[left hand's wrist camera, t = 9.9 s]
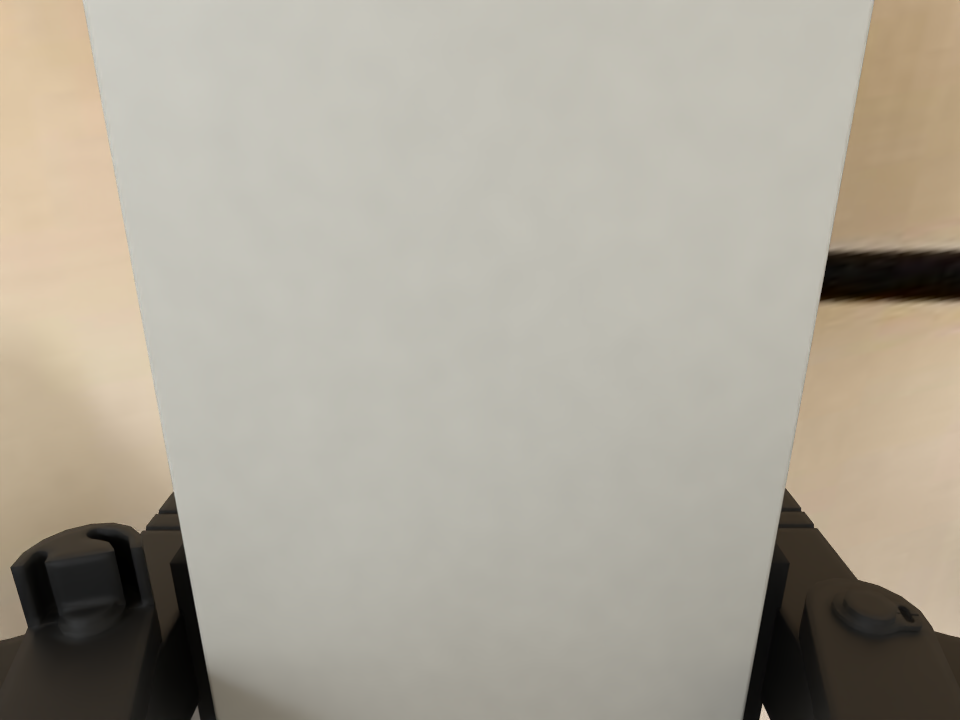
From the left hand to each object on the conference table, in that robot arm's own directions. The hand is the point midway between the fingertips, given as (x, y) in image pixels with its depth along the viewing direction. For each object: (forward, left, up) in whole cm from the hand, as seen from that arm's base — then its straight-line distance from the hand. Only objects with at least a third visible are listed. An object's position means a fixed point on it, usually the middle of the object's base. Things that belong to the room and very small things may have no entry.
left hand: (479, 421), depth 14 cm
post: (+27, +20, -1) cm, 34 cm away
